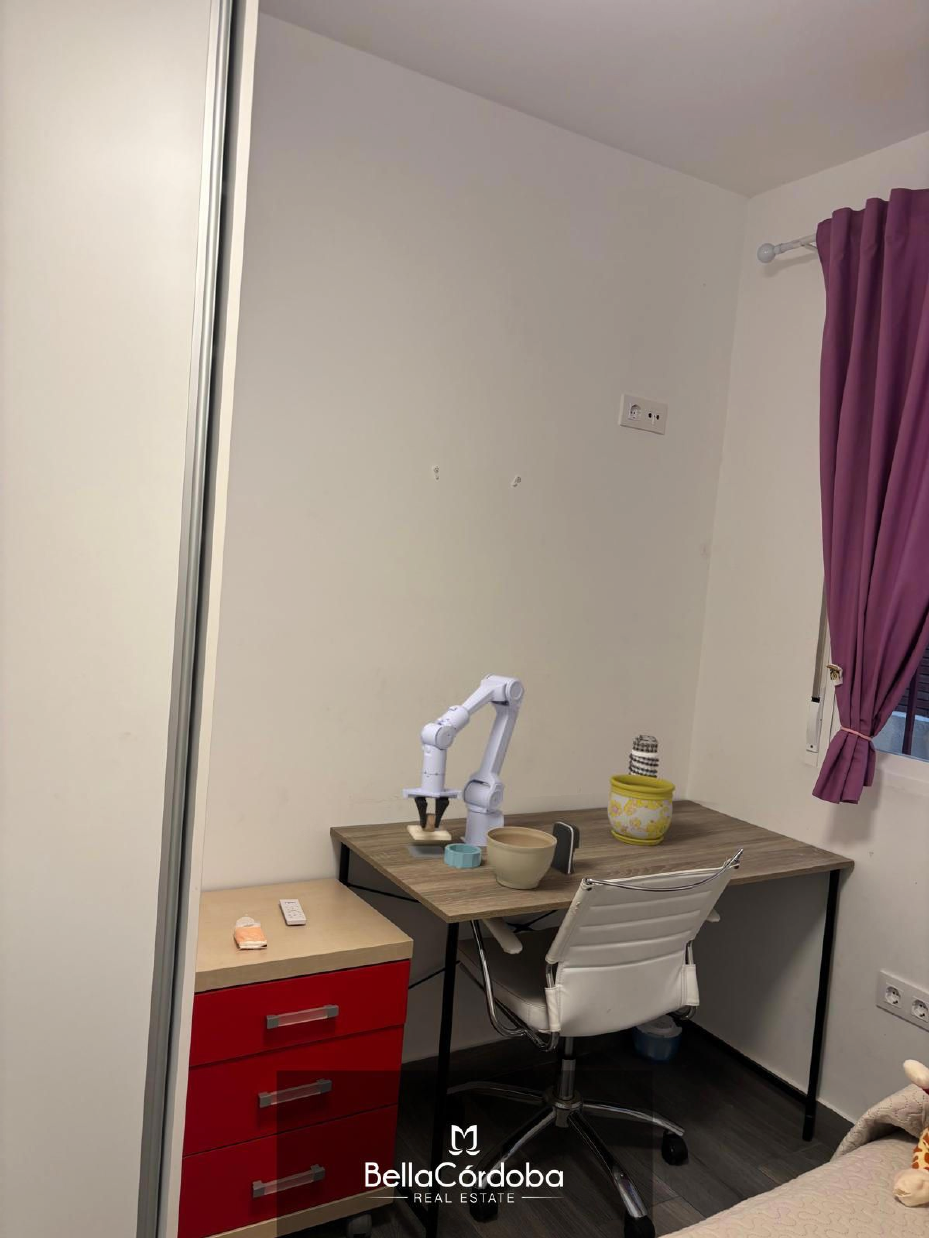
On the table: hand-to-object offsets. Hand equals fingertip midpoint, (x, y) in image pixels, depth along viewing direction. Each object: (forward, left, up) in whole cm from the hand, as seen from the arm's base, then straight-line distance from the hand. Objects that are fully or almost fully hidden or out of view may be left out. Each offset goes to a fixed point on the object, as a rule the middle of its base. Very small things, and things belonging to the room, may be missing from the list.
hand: (429, 827), depth 230 cm
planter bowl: (-16, +22, -7) cm, 28 cm away
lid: (0, 0, -2) cm, 2 cm away
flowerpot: (-64, -14, -7) cm, 66 cm away
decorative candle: (-77, -39, -7) cm, 86 cm away
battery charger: (-31, +13, -7) cm, 34 cm away
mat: (0, 0, -7) cm, 7 cm away
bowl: (-6, +9, -7) cm, 13 cm away
